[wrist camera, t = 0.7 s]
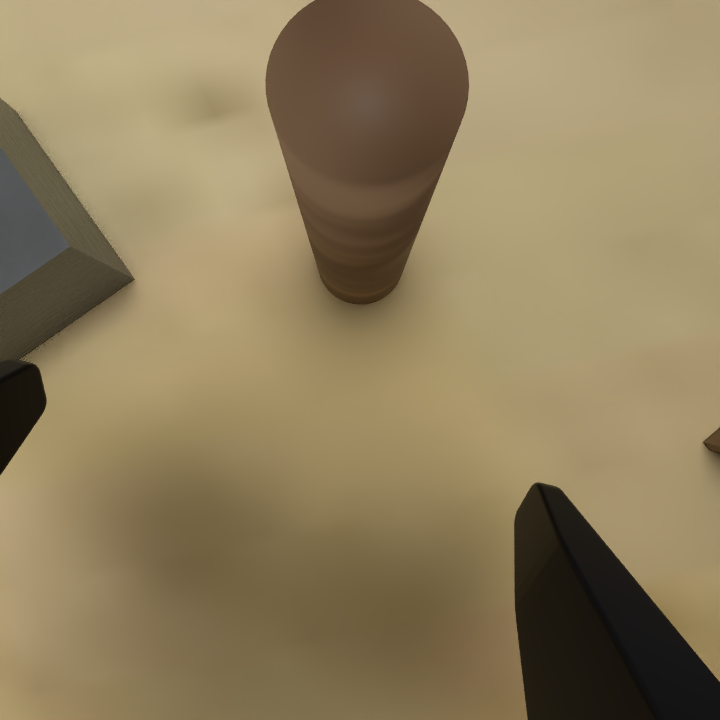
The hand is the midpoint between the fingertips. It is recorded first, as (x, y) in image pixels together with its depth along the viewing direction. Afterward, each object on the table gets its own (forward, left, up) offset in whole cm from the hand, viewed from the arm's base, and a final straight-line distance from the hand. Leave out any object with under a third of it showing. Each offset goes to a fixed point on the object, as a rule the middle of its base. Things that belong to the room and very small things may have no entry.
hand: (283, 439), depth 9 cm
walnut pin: (+5, +5, -13) cm, 15 cm away
